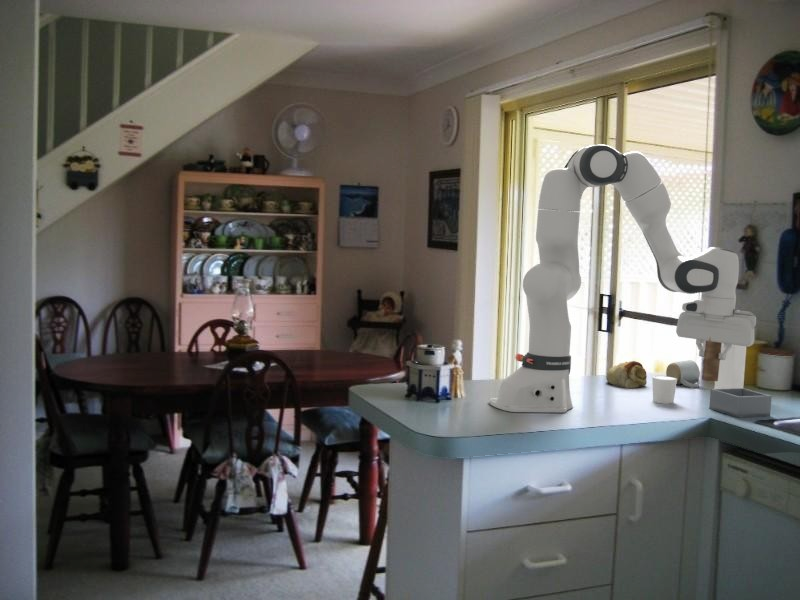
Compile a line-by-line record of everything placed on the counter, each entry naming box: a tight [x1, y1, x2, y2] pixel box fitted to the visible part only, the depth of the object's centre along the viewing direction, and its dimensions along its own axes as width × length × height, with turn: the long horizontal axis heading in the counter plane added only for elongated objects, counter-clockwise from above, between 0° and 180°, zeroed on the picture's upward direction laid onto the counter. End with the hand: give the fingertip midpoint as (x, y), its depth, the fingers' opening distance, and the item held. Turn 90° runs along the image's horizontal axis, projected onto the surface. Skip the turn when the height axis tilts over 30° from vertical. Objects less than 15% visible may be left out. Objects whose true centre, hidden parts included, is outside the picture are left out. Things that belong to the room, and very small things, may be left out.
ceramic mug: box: [665, 359, 701, 389], centre depth 273 cm, size 11×8×8 cm
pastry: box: [605, 360, 648, 389], centre depth 270 cm, size 14×12×8 cm
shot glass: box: [651, 375, 677, 405], centre depth 244 cm, size 7×7×7 cm
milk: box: [713, 343, 747, 389], centre depth 258 cm, size 6×6×22 cm
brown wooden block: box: [701, 339, 722, 382], centre depth 232 cm, size 4×2×12 cm, turn 96°
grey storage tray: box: [708, 387, 773, 418], centre depth 233 cm, size 11×11×6 cm
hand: (712, 358), depth 232 cm, fingers closed on brown wooden block, 4 cm apart
